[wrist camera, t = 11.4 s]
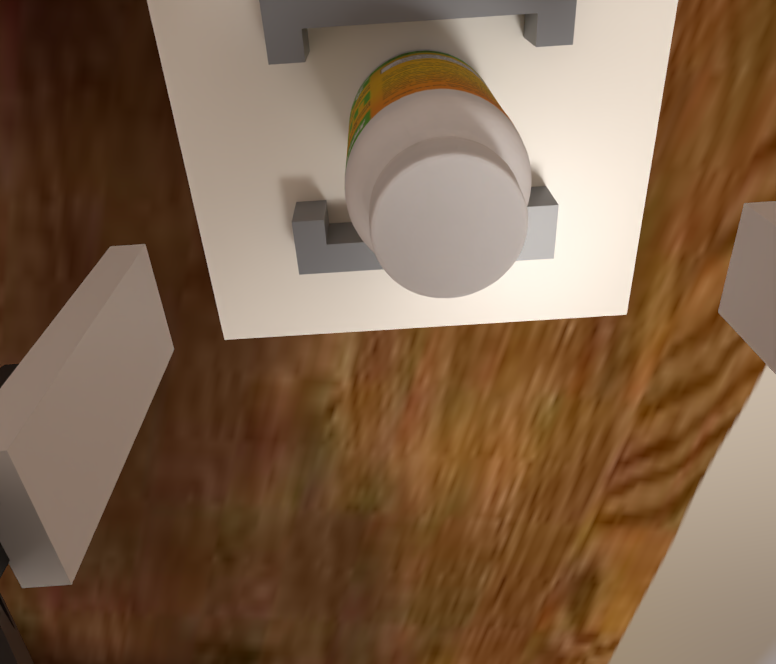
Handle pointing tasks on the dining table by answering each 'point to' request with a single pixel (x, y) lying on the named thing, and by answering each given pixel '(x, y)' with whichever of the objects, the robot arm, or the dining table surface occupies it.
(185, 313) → the dining table surface
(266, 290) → the bottle holder
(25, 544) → the robot arm
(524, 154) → the supplement bottle
